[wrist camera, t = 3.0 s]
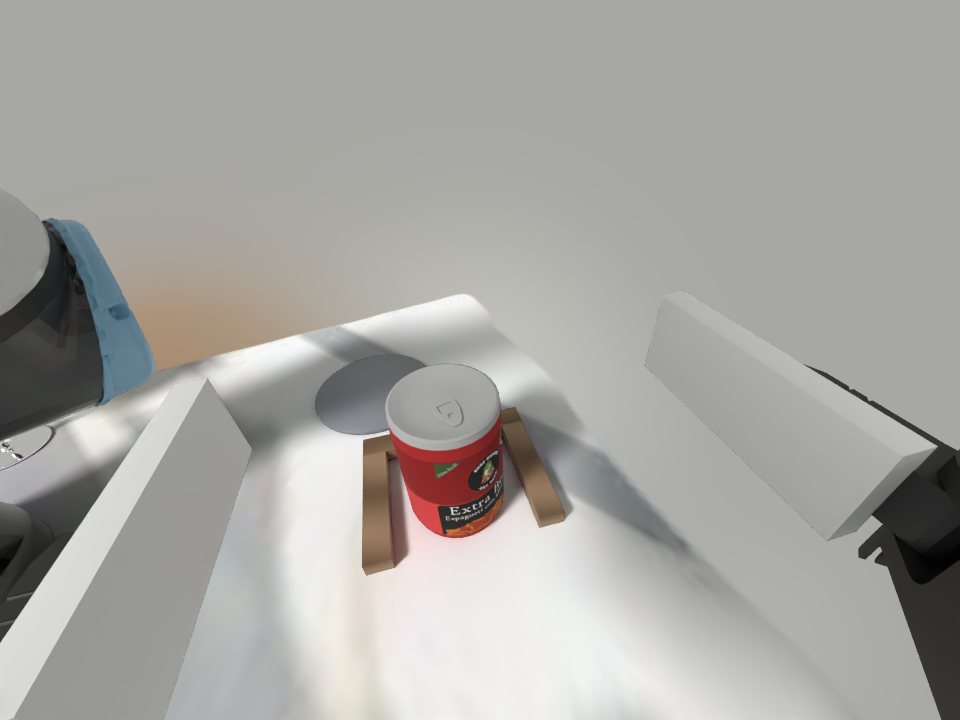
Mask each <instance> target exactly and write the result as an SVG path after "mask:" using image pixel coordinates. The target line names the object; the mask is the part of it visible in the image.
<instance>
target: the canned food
mask: <svg viewBox="0 0 960 720" xmlns="http://www.w3.org/2000/svg"><path fill="white" fill-rule="evenodd" d="M385 411H386V420H387V423H388V426H389V431H390V435H391V438H392V441H393V445H394V448H395V451H396V455H397V458H398V462H399V465H400V468H401V472H402V475H403V479H404V482H405V485H406V489H407V492H408V495H409V499H410V502H411V505H412V508H413V511H414V513H415V515H416V516H417V518H418V519H419V520H420V521H421V522H422V523H423V524H424V525H425V526H426V527H427V528H428V529H429V530H431V531H432V532H434V533H436V534H438V535H441V536H443V537H449V538H463V537H467V536H471V535H473V534H476V533H478V532H480V531H481V530H483V529H484V528H485V527H487V526H488V525H489V524H490V523H491V522H492V520H493V519H494V517H495V516H496V514H497V512H498V510H499V509H500V506H501V503H502V500H503V457H502V420H501V405H500V398H499V392H498V390H497V387H496V385H495V384H494V382H493V381H492V380H491V379H490V378H489V377H488V376H487V375H486V374H484V373H482V372H481V371H479V370H477V369H474V368H472V367H469V366H464V365H460V364H438V365H431V366H427V367H424V368H421V369H418V370H416V371H414V372H411V373H410V374H408V375H407V376H405V377H403V378H402V379H401V380H400V381H399V382H397V383H396V384H395V386H394V387H393V388H392V389H391V391H390V393H389V395H388V397H387V400H386V404H385Z"/></svg>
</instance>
